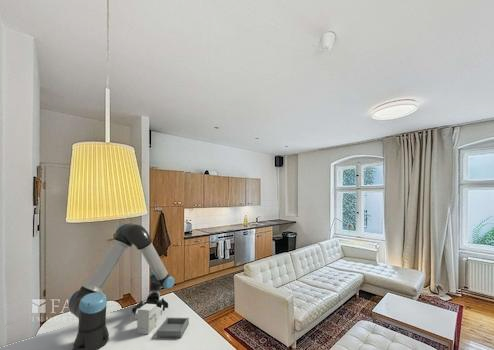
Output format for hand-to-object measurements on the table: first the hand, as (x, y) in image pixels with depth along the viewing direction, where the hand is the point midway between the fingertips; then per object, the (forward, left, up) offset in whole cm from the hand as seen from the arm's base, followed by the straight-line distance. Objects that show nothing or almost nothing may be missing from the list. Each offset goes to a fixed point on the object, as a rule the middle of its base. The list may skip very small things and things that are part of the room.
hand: (148, 314), depth 127 cm
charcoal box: (+12, +10, -8) cm, 17 cm away
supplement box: (+1, -1, -8) cm, 8 cm away
